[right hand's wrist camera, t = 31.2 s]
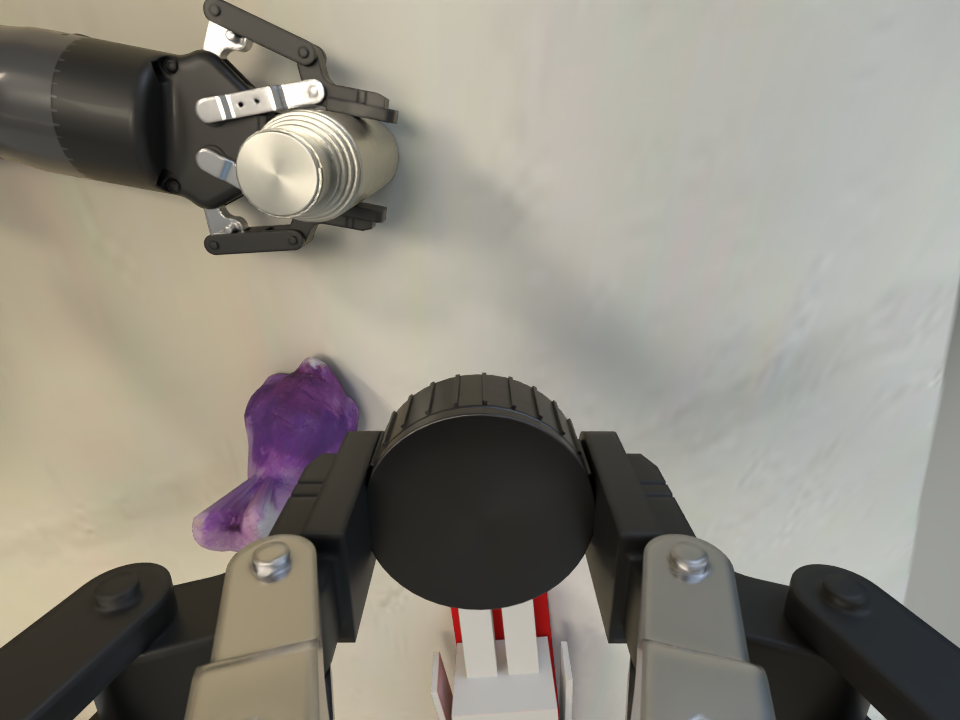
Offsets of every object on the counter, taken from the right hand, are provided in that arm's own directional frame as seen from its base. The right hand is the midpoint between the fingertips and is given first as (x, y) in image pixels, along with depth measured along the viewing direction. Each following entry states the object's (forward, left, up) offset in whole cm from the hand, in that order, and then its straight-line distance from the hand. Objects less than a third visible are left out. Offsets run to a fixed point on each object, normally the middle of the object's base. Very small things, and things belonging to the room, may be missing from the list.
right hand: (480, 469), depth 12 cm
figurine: (-4, -20, -30) cm, 36 cm away
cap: (0, 0, +2) cm, 2 cm away
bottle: (-10, +1, -30) cm, 32 cm away
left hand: (-7, +2, -24) cm, 25 cm away
